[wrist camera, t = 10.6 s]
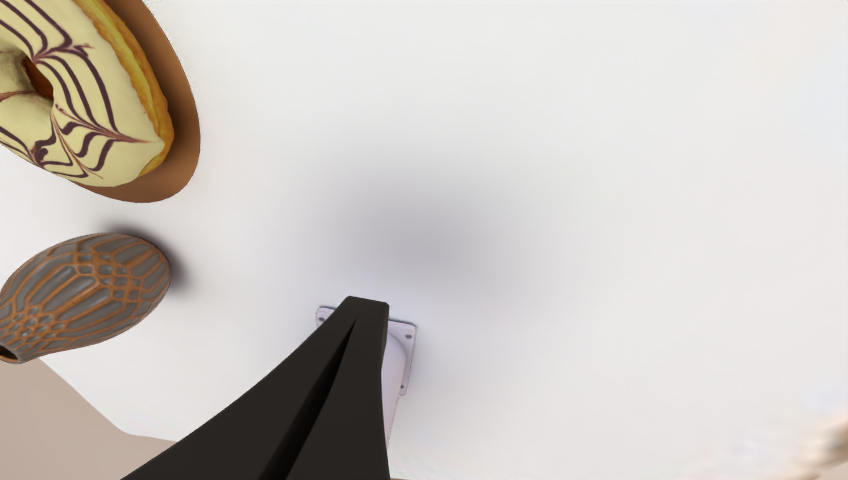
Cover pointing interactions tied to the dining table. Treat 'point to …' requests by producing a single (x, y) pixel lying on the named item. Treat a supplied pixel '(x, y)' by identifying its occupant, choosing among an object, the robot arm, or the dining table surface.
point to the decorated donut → (79, 93)
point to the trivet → (180, 109)
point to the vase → (79, 294)
